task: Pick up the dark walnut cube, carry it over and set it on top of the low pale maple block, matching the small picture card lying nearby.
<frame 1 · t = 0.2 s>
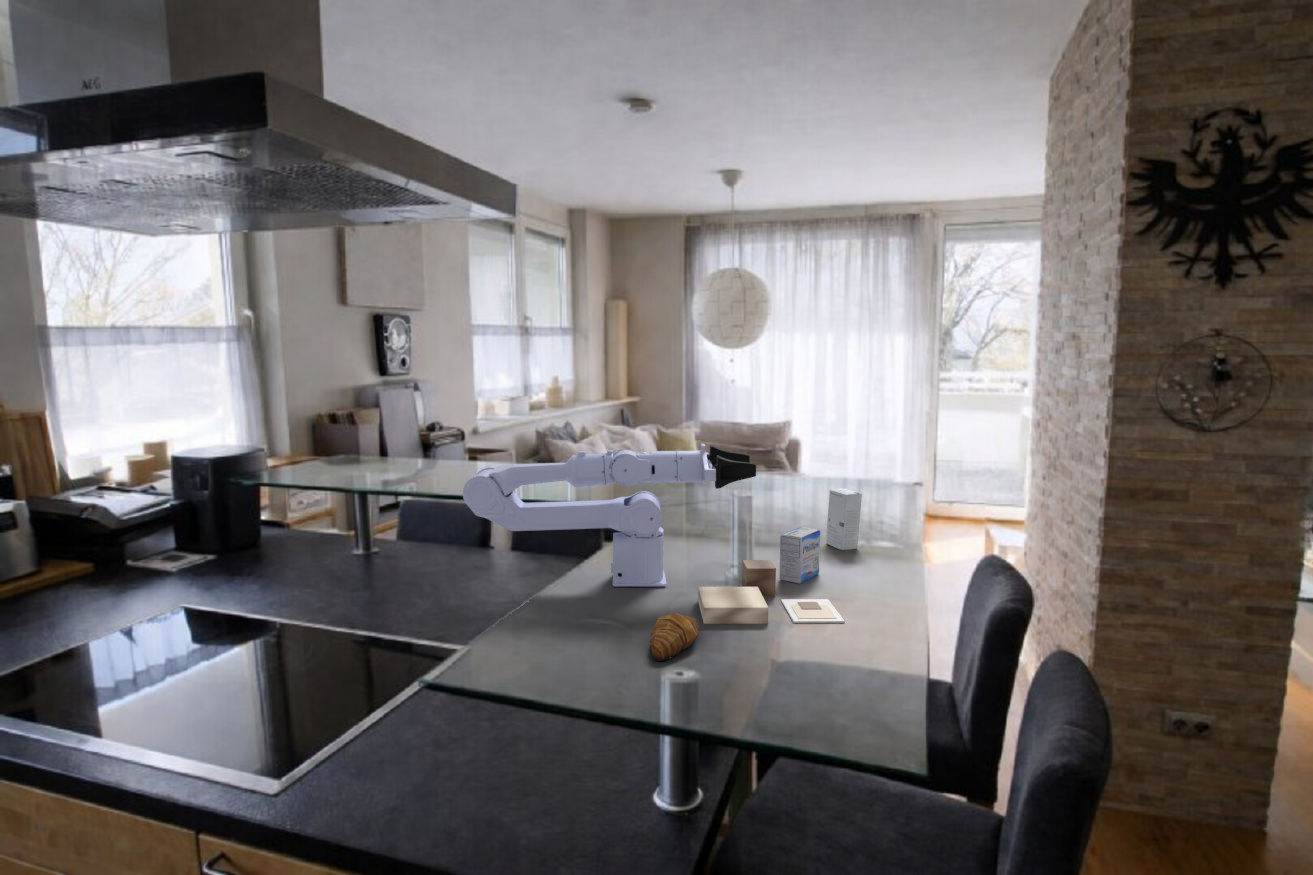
hand: (752, 465, 135), 21 cm above the table, tool horizontal, fingers open, 7 cm apart
skincare box: (842, 547, 161), on the table
walnut cube: (758, 591, 132), on the table
picture card: (811, 611, 122), on the table
croissant: (674, 647, 108), on the table
medicine box: (799, 578, 140), on the table
maple block: (731, 614, 122), on the table
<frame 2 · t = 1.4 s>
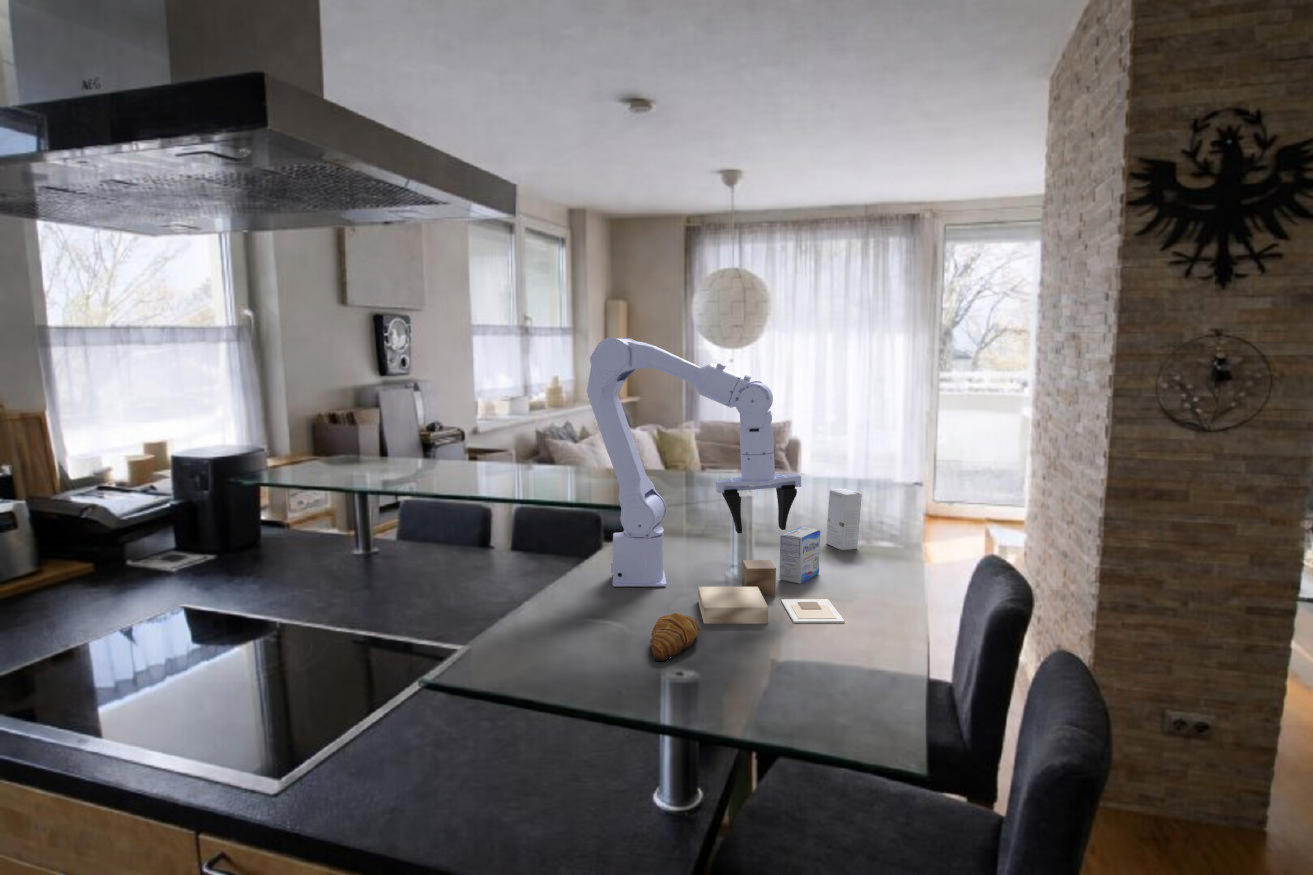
hand: (760, 530, 131), 11 cm above the table, tool pointing down, fingers open, 7 cm apart
nothing on the table moved.
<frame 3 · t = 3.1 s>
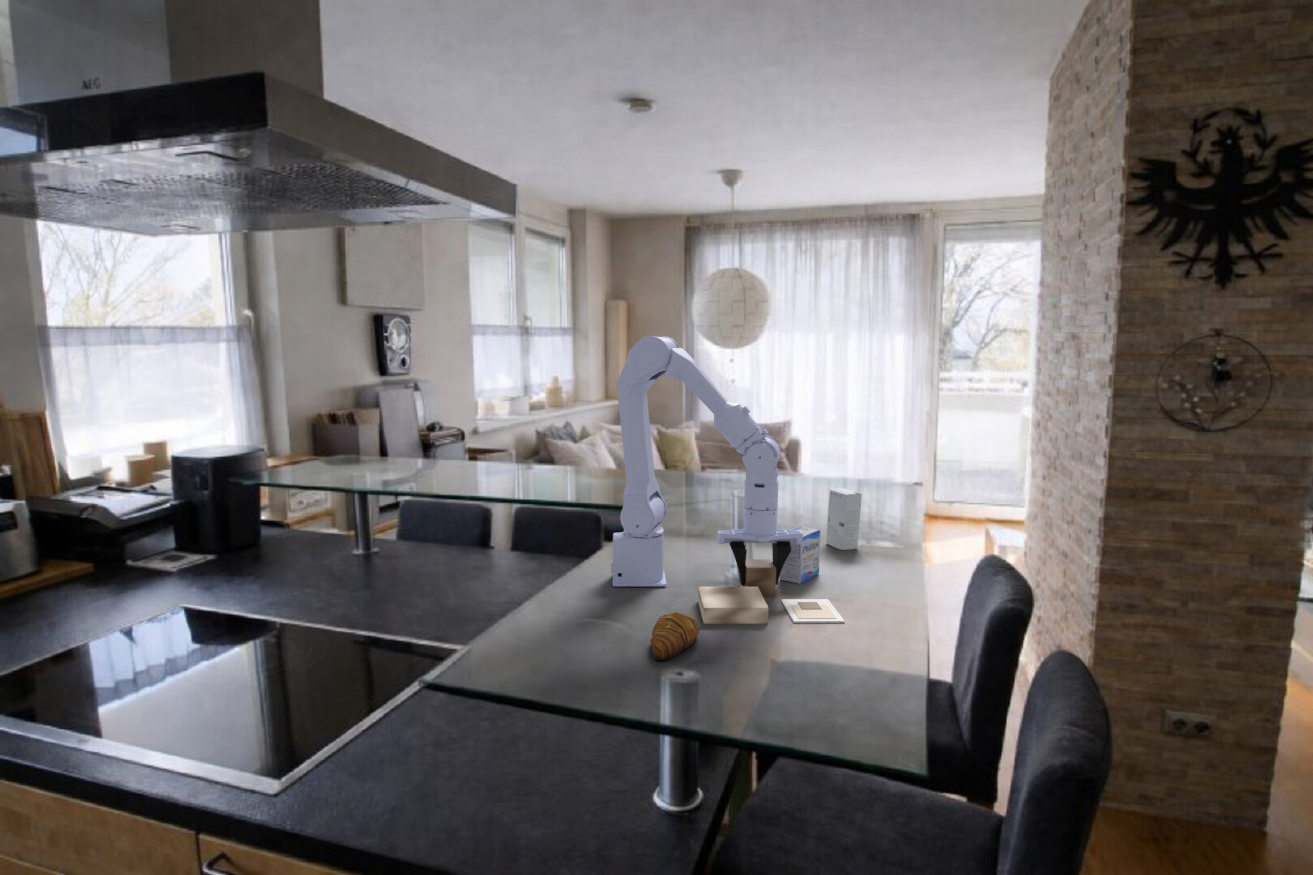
hand: (758, 583, 132), 1 cm above the table, tool pointing down, fingers closed on walnut cube, 5 cm apart
walnut cube: (758, 591, 132), on the table, touching gripper
everything else where it was.
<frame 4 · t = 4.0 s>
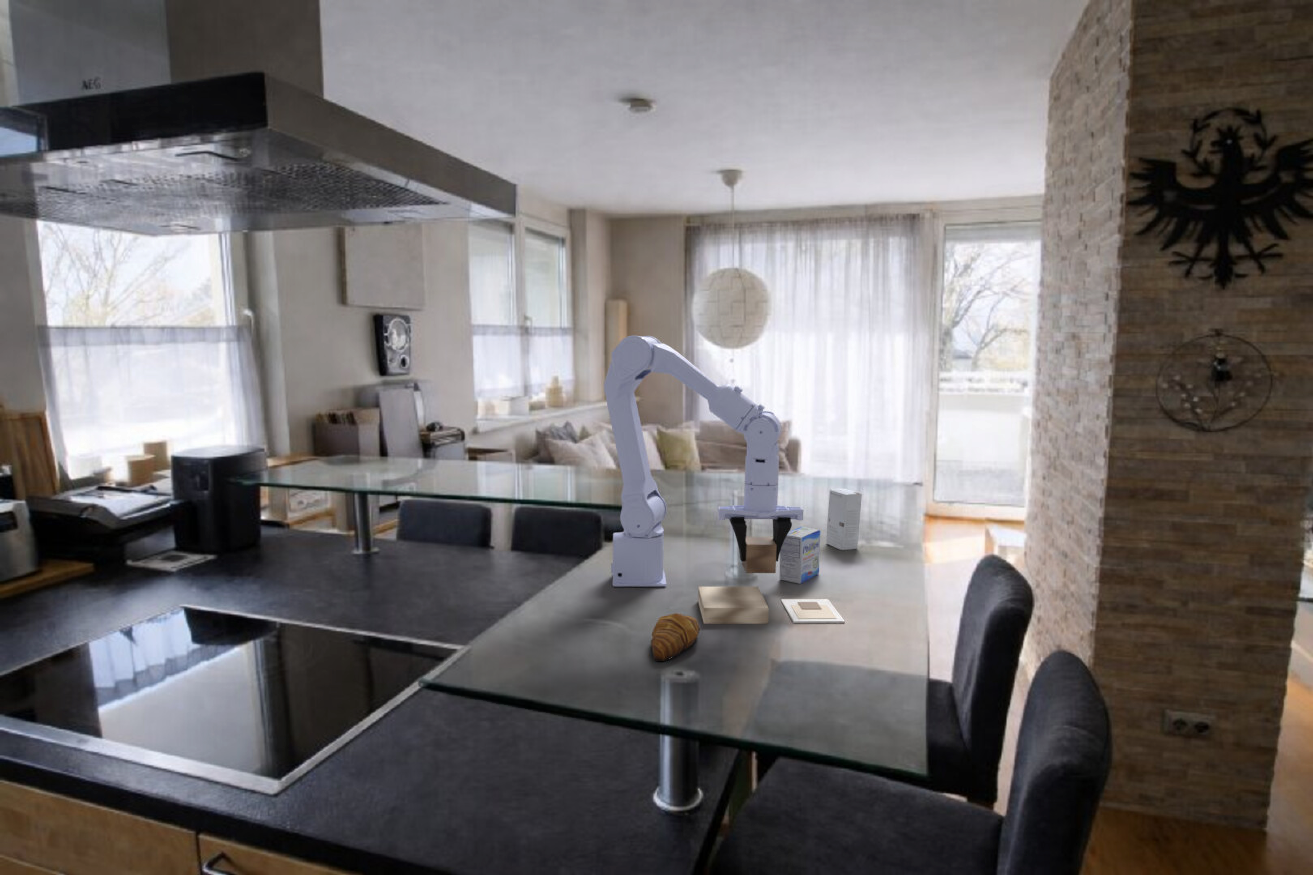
hand: (758, 559, 131), 6 cm above the table, tool pointing down, fingers closed on walnut cube, 5 cm apart
walnut cube: (758, 568, 131), point 4 cm above the table, touching gripper
everything else where it was.
when the fingers open (6 cm above the table, at t = 6.3 s): walnut cube drops 2 cm, point 2 cm above the table.
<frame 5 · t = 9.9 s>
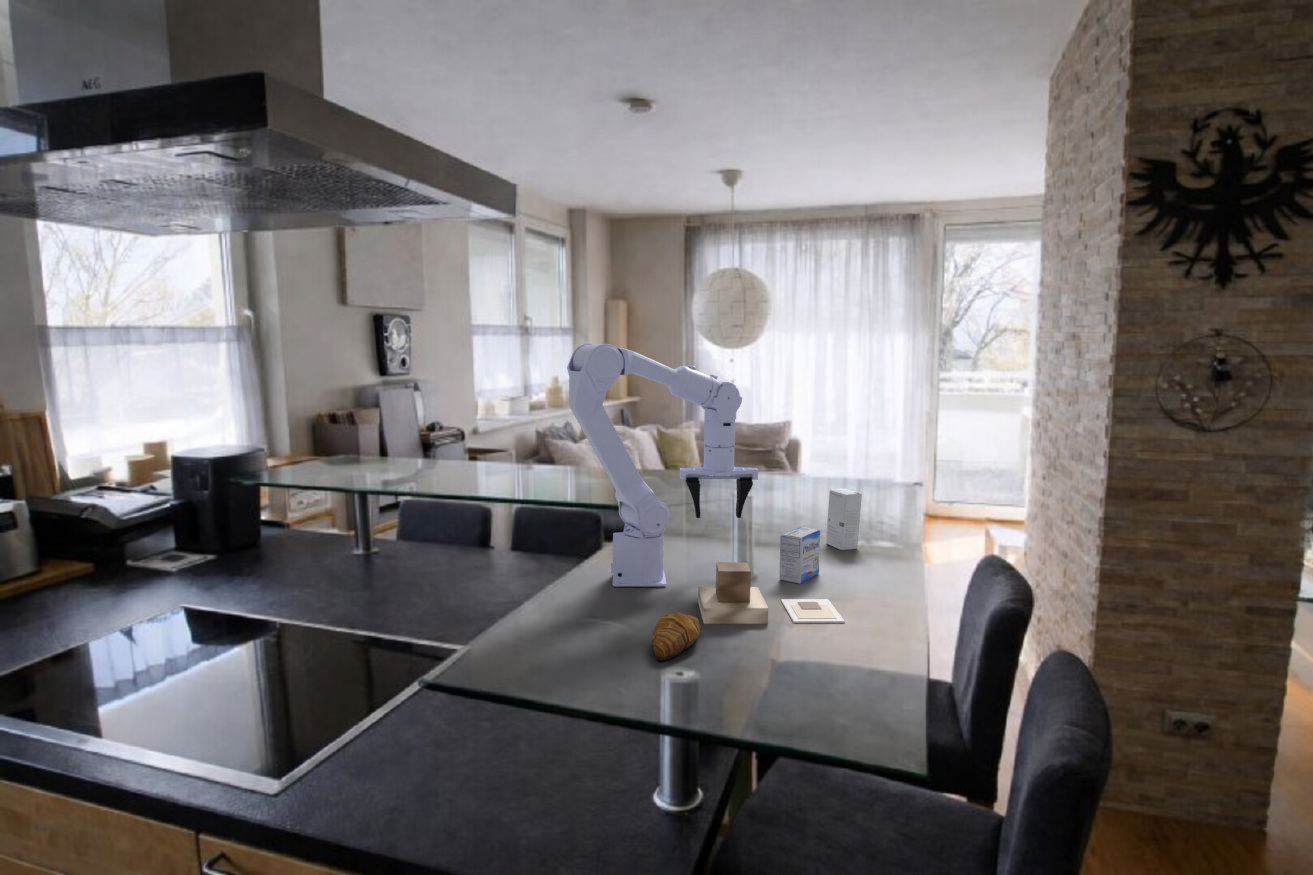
hand: (718, 516, 142), 10 cm above the table, tool pointing down, fingers open, 7 cm apart
walnut cube: (732, 597, 121), point 2 cm above the table
everything else where it was.
at the end: walnut cube 0.1 cm off-centre on the maple block, point 3.0 cm above the maple block's base; walnut cube tilted 1°; the gripper is holding nothing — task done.
